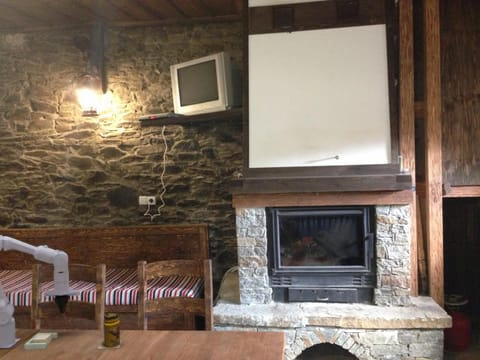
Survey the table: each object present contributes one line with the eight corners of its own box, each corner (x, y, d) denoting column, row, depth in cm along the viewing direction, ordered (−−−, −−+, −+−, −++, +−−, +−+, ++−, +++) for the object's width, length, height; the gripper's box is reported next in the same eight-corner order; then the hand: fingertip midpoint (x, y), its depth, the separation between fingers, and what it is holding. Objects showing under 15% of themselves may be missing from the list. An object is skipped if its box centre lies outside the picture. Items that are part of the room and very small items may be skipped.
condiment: (119, 347, 160) (118, 317, 159) (97, 349, 159) (96, 318, 158) (122, 340, 167) (121, 310, 167) (100, 341, 166) (99, 312, 165)
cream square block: (33, 347, 163) (32, 339, 163) (39, 341, 168) (38, 334, 168) (45, 346, 163) (45, 339, 163) (51, 341, 168) (51, 334, 168)
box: (24, 349, 160) (24, 344, 160) (38, 337, 171) (38, 333, 171) (45, 349, 160) (45, 344, 160) (57, 337, 171) (57, 332, 171)
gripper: (82, 277, 177) (83, 309, 177) (48, 278, 177) (49, 309, 177) (75, 282, 170) (77, 314, 170) (40, 283, 170) (42, 315, 170)
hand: (62, 312), depth 173 cm, fingers closed
